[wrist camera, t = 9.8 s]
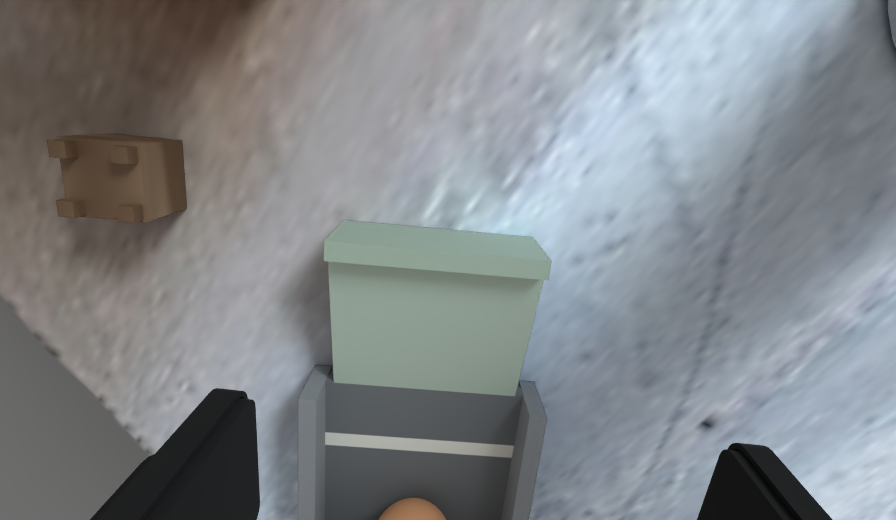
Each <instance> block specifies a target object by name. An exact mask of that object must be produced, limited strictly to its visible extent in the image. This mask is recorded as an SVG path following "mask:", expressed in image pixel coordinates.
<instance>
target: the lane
mask: <svg viewBox="0 0 896 520" xmlns="http://www.w3.org/2000/svg"><path fill="white" fill-rule="evenodd" d="M546 421H547V416H546V413H545V410H544V407H543V405H542V402H541V399H540V396H539V393H538V390H537V388H536V385H535V382H530V381H519V382H518V386H517V390H516V394H515V396H504V395H491V394H477V393H464V392H451V391H438V390H425V389H411V388H398V387H385V386H372V385H359V384H345V383H334V377H333V368H332V366H323V365H315V367H314V369H313V371H312V373H311V375H310V377H309V379H308V381H307V383H306V385H305V387H304V389H303V391H302V393H301V395H300V397H299V399H298V520H379V518H380V516H381V515H382V514H383V512H384V511H385V510H386V509H387V508H388V507H389V506H391V505H392V504H394V503H395V502H397V501H399V500H402V499H406V498H421V499H424V500H427V501H429V502H431V503H432V504H434V505H435V506H436V507H437V508H438V509H439V510H440V511H441V512H442V514H443V515H444V517H445V518H446V520H528V519H529V514H530V509H531V503H532V498H533V492H534V487H535V481H536V476H537V470H538V465H539V459H540V454H541V448H542V443H543V437H544V432H545V426H546Z"/></svg>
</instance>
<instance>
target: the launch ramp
mask: <svg viewBox="0 0 896 520" xmlns="http://www.w3.org/2000/svg"><path fill="white" fill-rule="evenodd" d="M324 261H328V274H329V295H330V315H331V336H332V356H333V377H334V383H345V384H359V385H372V386H385V387H398V388H411V389H425V390H438V391H451V392H464V393H477V394H491V395H504V396H515V394H516V390H517V386H518V382H519V378H520V374H521V370H522V366H523V362H524V358H525V354H526V350H527V345H528V341H529V337H530V333H531V329H532V325H533V321H534V317H535V313H536V309H537V305H538V301H539V297H540V293H541V289H542V285H543V281H544V280H549V274H550V268H551V262H552V261H551V260H550V258H549V257H548V256H547V254H546V253H545V252H544V251H543V249H542V248H541V247H540V245H539V244H538V243H537V241H536V240H535V239H534V238H533V237H525V236H514V235H503V234H492V233H481V232H470V231H459V230H448V229H436V228H425V227H414V226H403V225H392V224H381V223H370V222H358V221H347V220H344V221H343V222H342V223H341V224H340V225H339V226H338V227H337V228H336V229H335V230H334V231H333V232H332V233H331V234H330V235H329V236H328V237H327V239H326V240H325V241H324Z"/></svg>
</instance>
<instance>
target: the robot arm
mask: <svg viewBox="0 0 896 520" xmlns="http://www.w3.org/2000/svg"><path fill="white" fill-rule="evenodd" d="M888 15H889V21H890V27H891V34H892V40H893V42H894V45H895V47H896V0H888ZM259 507H260V495H259V473H258V452H257V430H256V409H255V402H254V400H250V399H248V398H247V394H246V392H244V391H237V390H228V389H218V388H216V389H213V390H212V391H211V392H210V393H209V394H208V395H207V396H206V397H205V399H204V400H203V401H202V402H201V403H200V404H199V405H198V406H197V408H196V409H195V410H194V411H193V412H192V413H191V414H190V415H189V417H188V418H187V419H186V420H185V421H184V422H183V423H182V424H181V425H180V427H179V428H178V429H177V430H176V431H175V432H174V433H173V434H172V436H171V437H170V438H169V439H168V440H167V441H166V442H165V443H164V445H163V446H162V447H161V448H160V449H159V450H158V451H157V452H156V454H154V455H151V456H149V457H148V458H147V459H146V460H144V461H143V462H142V463H141V464H140V465H139V466H138V467H137V468H136V469H135V471H134V472H133V473H132V474H131V475H130V476H129V477H128V478H127V479H126V481H125V482H124V483H123V484H122V485H121V486H120V487H119V488H118V489H117V490H116V492H115V493H114V494H113V495H112V496H111V497H110V498H109V499H108V500H107V502H106V503H105V504H104V505H103V506H102V507H101V508H100V509H99V510H98V511H97V513H96V514H95V515H94V516H93V517H92V518H91V519H90V520H256V519H257V516H258V512H259ZM697 520H832V519H831V518H830V516H829V515H828V514H827V513H826V512H825V511H824V510H823V508H822V507H821V506H820V505H819V504H818V503H817V502H816V500H815V499H814V498H813V497H812V496H811V495H810V494H809V492H808V491H807V490H806V489H805V488H804V487H803V486H802V484H801V483H800V482H799V481H798V480H797V479H796V478H795V476H794V475H793V474H792V473H791V472H790V471H789V470H788V468H787V467H786V466H785V465H784V464H783V463H782V462H781V460H780V459H779V458H778V457H777V456H776V455H775V454H774V452H773V451H772V450H770V449H769V448H768V447H766V446H761V445H752V444H742V443H733V444H731V445H730V446H729V448H728V450H723V451H722V452H721V454H720V456H719V458H718V461H717V464H716V467H715V470H714V473H713V476H712V478H711V481H710V484H709V487H708V490H707V493H706V496H705V498H704V501H703V504H702V507H701V510H700V513H699V516H698V518H697Z"/></svg>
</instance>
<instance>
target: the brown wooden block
mask: <svg viewBox="0 0 896 520" xmlns="http://www.w3.org/2000/svg"><path fill="white" fill-rule="evenodd" d="M47 144H48V150H49V157H55V158H60V162H61V169H62V176H63V182H64V189H65V196H66V199H61V200H56V204H57V210H58V216H61V217H72V218H76V217H79V216H80V217H91V218H103V219H114V220H118V222H129V223H136V222H149V221H152V220H155V219H158V218H161V217H164V216H166V215H169V214H172V213H175V212H178V211H181V210H183V209H186V208H187V202H186V188H185V173H184V159H183V144H182V140H173V139H162V138H152V137H141V136H131V135H120V134H94V135H72V136H57V139H56V140H47Z"/></svg>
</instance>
